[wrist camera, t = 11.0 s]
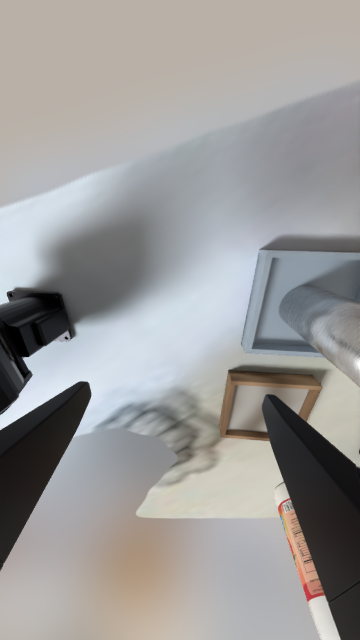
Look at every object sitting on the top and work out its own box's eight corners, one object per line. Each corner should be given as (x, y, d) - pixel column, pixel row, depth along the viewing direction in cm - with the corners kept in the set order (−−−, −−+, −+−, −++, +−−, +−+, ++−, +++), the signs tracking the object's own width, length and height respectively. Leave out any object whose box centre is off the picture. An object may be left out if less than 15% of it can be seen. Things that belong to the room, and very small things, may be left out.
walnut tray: (219, 424, 29) (220, 437, 27) (228, 370, 24) (231, 380, 22) (289, 430, 28) (295, 443, 26) (312, 375, 24) (322, 386, 22)
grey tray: (241, 344, 22) (245, 353, 20) (259, 249, 18) (267, 250, 16) (332, 349, 22) (344, 358, 20) (375, 252, 17) (397, 254, 15)
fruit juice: (333, 486, 34) (778, 1252, 8) (302, 506, 37) (540, 1075, 12) (290, 473, 33) (637, 1282, 7) (263, 495, 37) (428, 1080, 11)
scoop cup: (285, 332, 21) (392, 435, 10) (273, 296, 19) (386, 372, 8) (329, 315, 19) (509, 411, 8) (321, 276, 18) (530, 332, 7)
